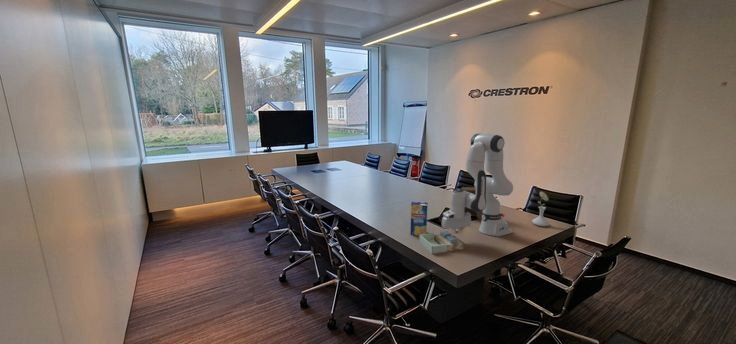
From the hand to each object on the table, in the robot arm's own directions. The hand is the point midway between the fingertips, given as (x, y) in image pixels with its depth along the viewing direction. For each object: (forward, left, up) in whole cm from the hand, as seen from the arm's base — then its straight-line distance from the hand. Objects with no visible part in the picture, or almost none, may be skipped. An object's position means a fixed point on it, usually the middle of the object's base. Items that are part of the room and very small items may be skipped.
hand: (455, 233), depth 200 cm
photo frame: (-38, -34, -6) cm, 51 cm away
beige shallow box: (+7, +4, -5) cm, 10 cm away
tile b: (+7, +8, -1) cm, 11 cm away
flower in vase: (-77, -8, -6) cm, 77 cm away
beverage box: (+18, -18, -6) cm, 26 cm away
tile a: (+7, 0, -1) cm, 8 cm away
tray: (+19, +4, -5) cm, 20 cm away
